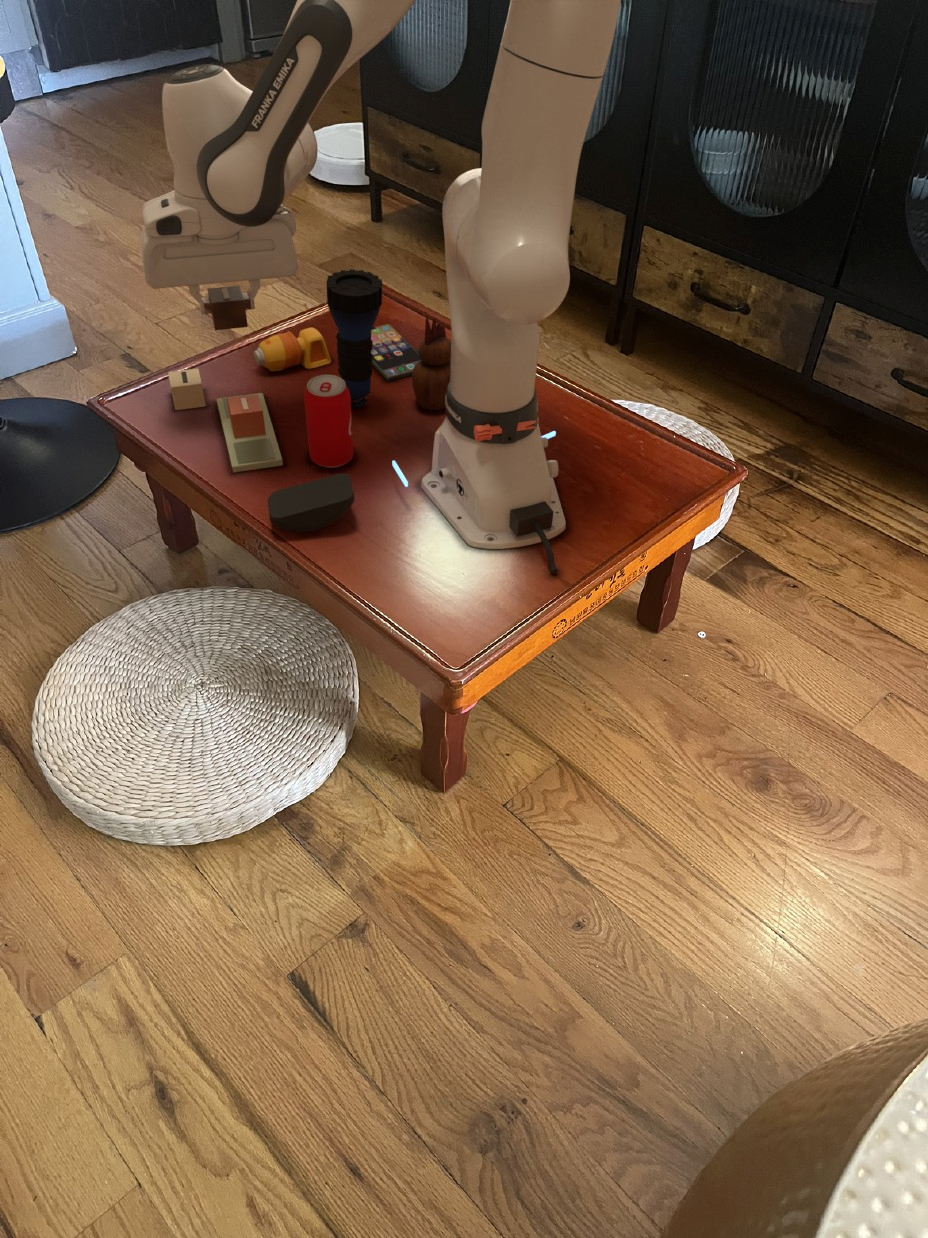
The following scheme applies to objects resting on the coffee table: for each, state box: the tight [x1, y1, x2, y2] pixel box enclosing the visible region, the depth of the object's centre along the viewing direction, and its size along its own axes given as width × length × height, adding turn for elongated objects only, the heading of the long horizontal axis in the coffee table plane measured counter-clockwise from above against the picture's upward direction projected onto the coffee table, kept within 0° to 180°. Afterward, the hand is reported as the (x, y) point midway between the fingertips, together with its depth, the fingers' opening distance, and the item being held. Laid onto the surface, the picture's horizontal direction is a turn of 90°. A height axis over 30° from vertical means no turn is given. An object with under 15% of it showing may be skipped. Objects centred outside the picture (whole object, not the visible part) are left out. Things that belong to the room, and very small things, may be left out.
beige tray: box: [216, 392, 284, 473], centre depth 135 cm, size 18×7×5 cm, turn 17°
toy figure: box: [253, 327, 332, 372], centre depth 149 cm, size 5×6×12 cm
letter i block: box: [167, 368, 206, 411], centre depth 141 cm, size 4×4×4 cm
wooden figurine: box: [411, 317, 451, 411], centre depth 139 cm, size 7×6×15 cm
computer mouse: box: [267, 473, 355, 533], centre depth 122 cm, size 6×11×4 cm, turn 102°
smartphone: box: [371, 323, 421, 382], centre depth 154 cm, size 8×15×1 cm, turn 31°
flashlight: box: [325, 269, 383, 408], centre depth 136 cm, size 8×8×20 cm
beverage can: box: [303, 374, 355, 469], centre depth 130 cm, size 6×6×12 cm
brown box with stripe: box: [207, 285, 249, 331], centre depth 129 cm, size 4×4×4 cm
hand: (227, 309), depth 130 cm, fingers closed on brown box with stripe, 4 cm apart
